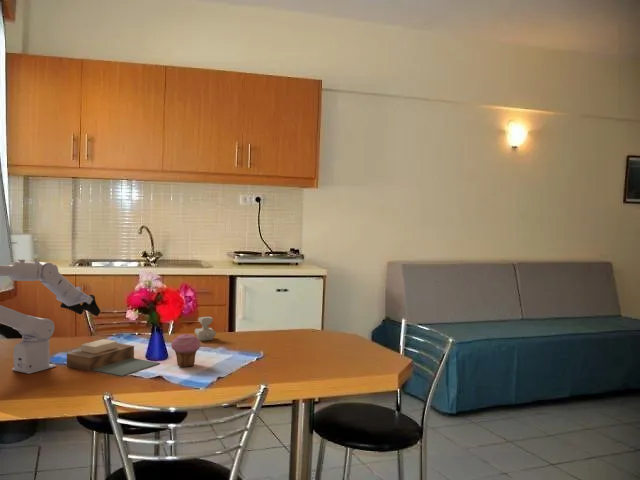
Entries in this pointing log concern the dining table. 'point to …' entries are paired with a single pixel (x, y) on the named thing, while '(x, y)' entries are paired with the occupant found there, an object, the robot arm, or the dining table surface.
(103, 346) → the beige flat block
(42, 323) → the robot arm
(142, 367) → the mat
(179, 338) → the cupcake
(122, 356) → the panel
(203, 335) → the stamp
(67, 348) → the dining table surface
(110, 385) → the dining table surface
